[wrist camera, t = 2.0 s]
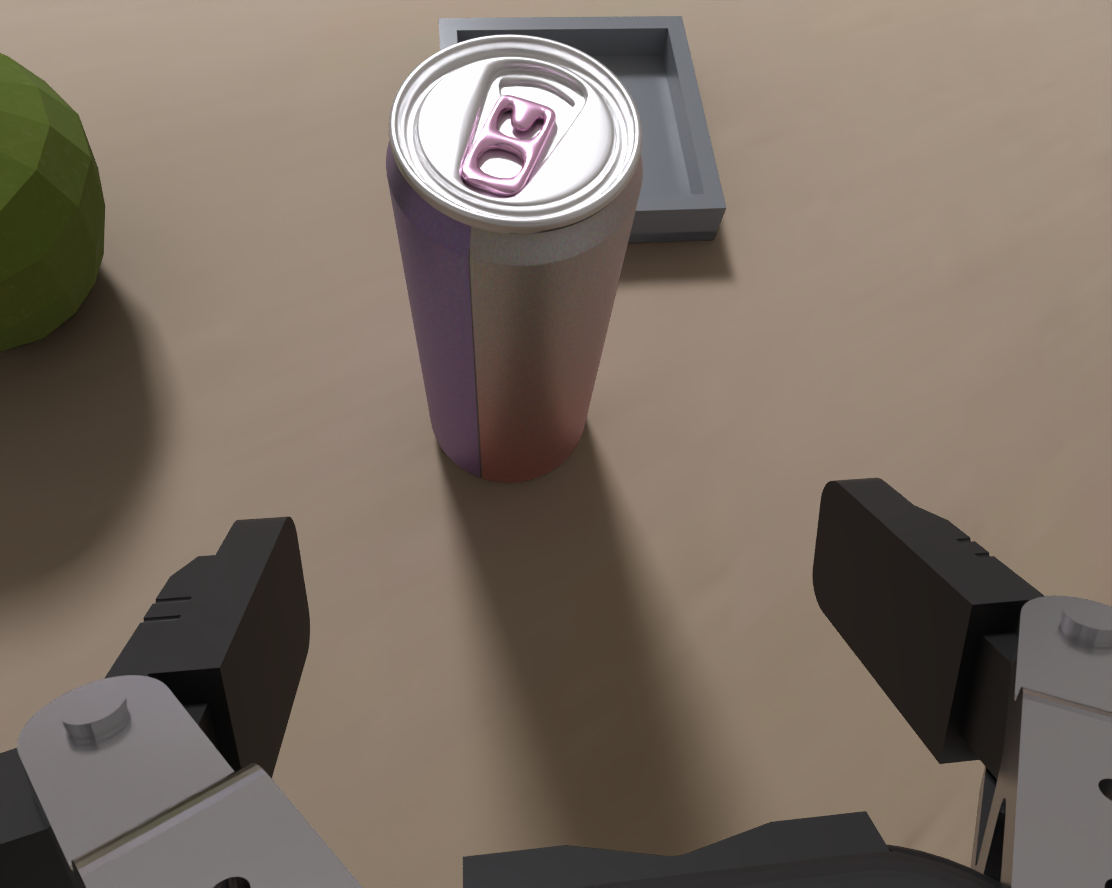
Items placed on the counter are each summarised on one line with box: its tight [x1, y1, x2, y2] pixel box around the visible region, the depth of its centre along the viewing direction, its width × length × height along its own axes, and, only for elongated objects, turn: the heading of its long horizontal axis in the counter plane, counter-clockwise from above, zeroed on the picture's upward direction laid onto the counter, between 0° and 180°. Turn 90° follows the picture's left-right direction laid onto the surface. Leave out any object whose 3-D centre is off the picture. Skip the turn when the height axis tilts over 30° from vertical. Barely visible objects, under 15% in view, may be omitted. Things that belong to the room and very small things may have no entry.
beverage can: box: [386, 34, 643, 482], centre depth 24 cm, size 6×6×15 cm
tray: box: [439, 16, 726, 243], centre depth 36 cm, size 12×12×2 cm
